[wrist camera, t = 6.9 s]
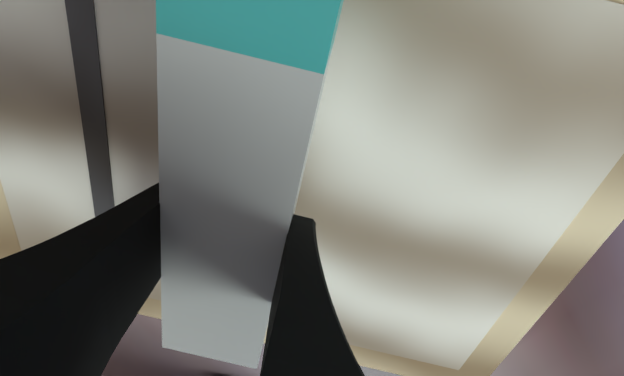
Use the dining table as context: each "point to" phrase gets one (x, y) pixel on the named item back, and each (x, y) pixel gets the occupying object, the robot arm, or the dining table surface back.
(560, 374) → the dining table surface
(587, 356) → the dining table surface
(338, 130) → the cream rectangular tray
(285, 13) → the eraser
